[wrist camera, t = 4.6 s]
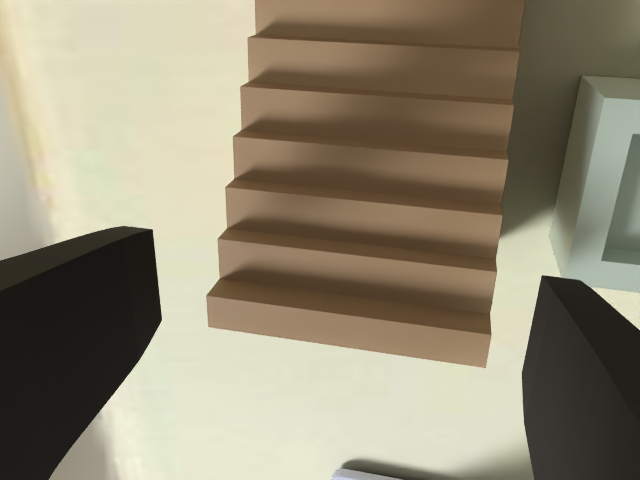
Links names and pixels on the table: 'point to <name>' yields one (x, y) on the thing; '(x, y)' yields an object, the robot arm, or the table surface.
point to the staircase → (371, 175)
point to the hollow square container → (601, 188)
